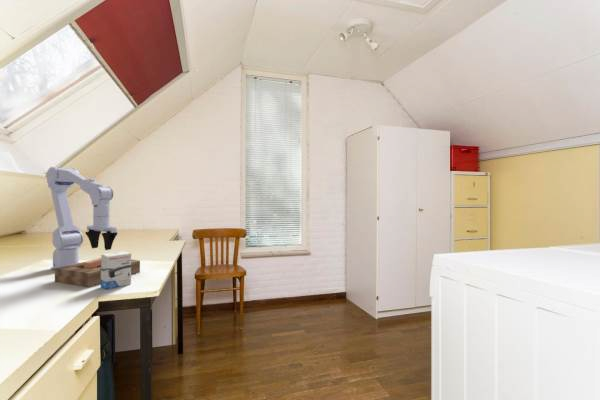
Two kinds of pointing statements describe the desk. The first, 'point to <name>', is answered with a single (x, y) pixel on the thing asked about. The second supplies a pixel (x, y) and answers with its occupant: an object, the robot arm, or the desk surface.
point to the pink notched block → (92, 264)
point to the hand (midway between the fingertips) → (101, 248)
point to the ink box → (115, 269)
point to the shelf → (85, 274)
